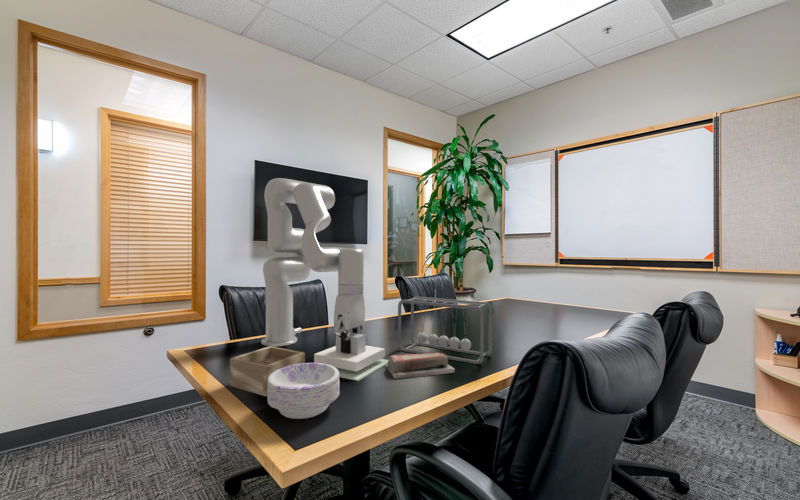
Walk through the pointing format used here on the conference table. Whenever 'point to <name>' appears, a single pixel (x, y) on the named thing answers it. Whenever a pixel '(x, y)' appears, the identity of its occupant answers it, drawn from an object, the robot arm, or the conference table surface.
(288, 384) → the paper bowls
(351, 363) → the lid
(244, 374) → the box
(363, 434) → the conference table surface
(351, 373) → the mat
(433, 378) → the conference table surface
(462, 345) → the newton's cradle
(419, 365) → the packaged product
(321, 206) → the robot arm
